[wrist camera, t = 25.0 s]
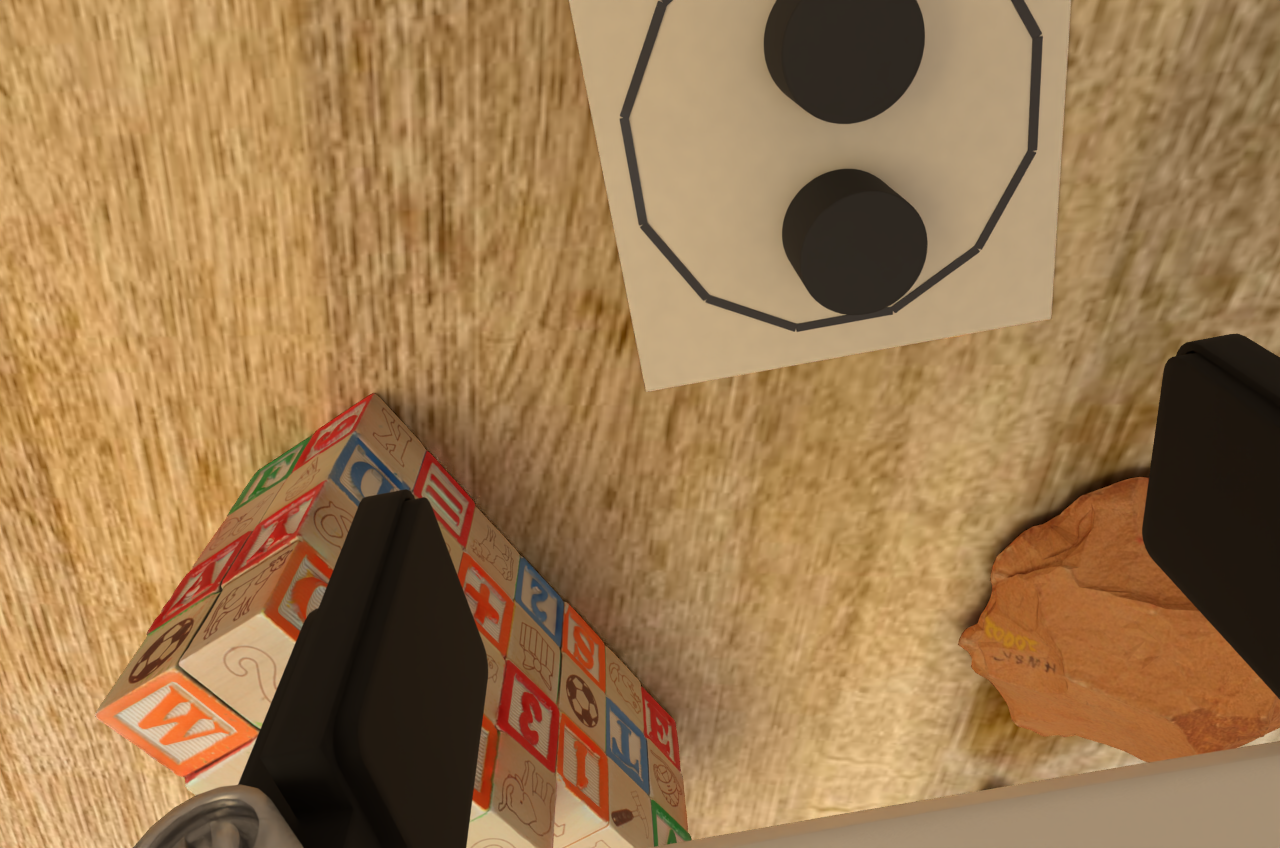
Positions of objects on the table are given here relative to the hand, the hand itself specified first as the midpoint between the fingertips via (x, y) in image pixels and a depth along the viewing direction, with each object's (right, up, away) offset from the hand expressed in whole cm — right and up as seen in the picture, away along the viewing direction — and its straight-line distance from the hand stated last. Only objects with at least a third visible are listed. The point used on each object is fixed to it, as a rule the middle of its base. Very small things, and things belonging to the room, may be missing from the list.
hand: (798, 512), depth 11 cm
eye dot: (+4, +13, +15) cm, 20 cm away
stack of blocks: (-9, -7, +26) cm, 28 cm away
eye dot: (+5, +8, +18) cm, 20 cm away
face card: (+4, +11, +17) cm, 20 cm away
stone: (+20, -6, +27) cm, 34 cm away
